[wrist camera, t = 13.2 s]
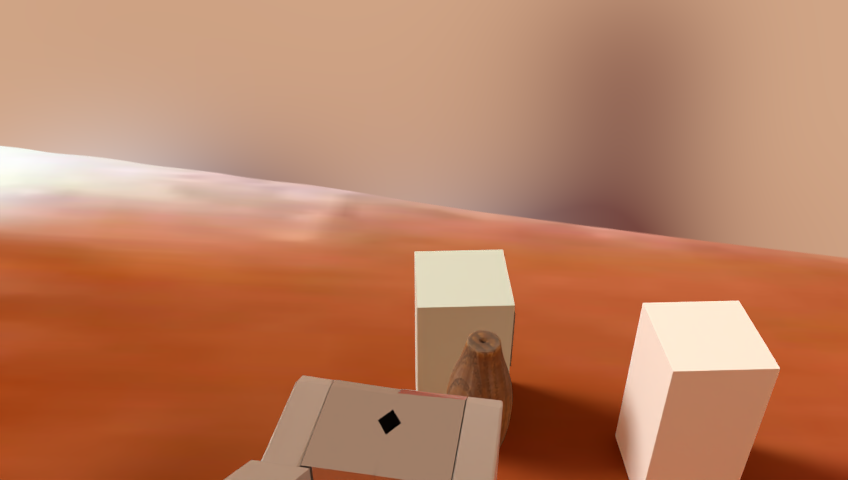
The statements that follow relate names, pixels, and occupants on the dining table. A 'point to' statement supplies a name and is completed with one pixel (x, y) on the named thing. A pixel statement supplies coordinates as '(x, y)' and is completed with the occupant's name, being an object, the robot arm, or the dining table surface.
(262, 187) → the dining table surface
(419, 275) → the sage block marked
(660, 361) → the cream block marked
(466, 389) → the hand bell
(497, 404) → the robot arm
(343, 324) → the dining table surface
